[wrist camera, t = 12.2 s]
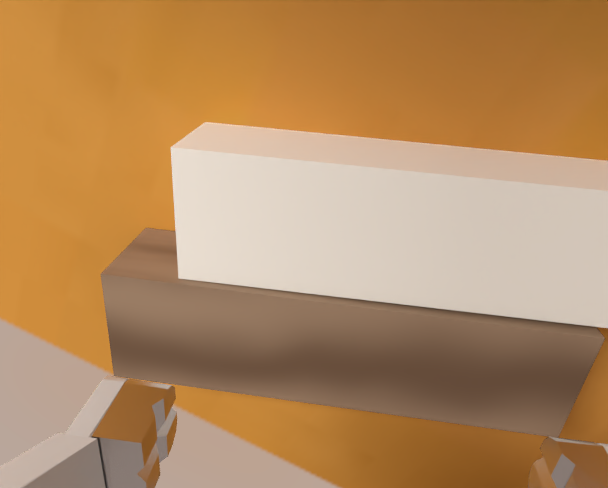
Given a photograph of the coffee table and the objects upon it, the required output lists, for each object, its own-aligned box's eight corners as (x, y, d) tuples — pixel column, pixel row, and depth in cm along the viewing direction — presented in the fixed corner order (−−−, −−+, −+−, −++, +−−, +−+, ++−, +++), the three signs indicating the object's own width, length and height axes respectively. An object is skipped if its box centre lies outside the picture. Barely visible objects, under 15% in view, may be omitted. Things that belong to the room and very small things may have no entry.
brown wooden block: (145, 227, 25) (100, 273, 21) (558, 278, 24) (604, 338, 20) (152, 318, 28) (114, 376, 23) (524, 367, 27) (558, 437, 22)
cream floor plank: (207, 120, 23) (170, 147, 18) (631, 161, 21) (702, 200, 17) (209, 231, 25) (178, 278, 21) (585, 272, 24) (637, 331, 20)
